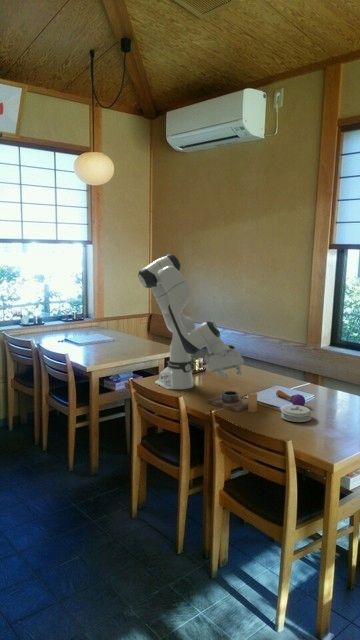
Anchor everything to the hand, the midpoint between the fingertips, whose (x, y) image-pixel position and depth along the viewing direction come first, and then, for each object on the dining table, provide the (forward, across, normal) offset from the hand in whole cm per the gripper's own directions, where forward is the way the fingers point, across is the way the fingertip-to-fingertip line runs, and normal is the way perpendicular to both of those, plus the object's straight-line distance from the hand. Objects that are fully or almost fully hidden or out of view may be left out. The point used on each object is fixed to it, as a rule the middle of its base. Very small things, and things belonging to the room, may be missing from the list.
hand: (233, 375), depth 216 cm
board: (+9, 0, +11) cm, 14 cm away
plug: (+18, 0, +2) cm, 18 cm away
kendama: (+21, +24, 0) cm, 31 cm away
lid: (+32, +8, -11) cm, 34 cm away
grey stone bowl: (+7, 0, +10) cm, 13 cm away
